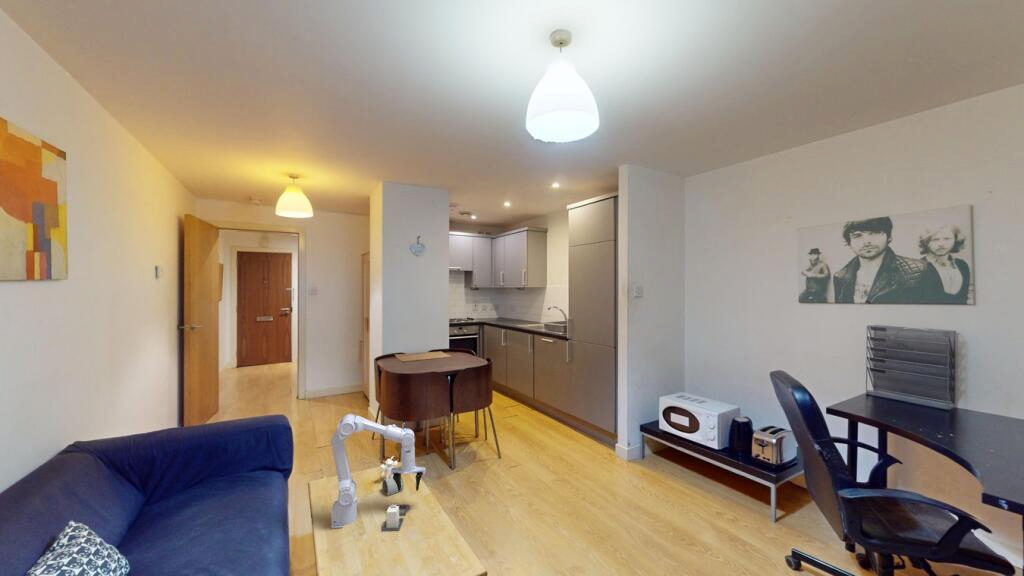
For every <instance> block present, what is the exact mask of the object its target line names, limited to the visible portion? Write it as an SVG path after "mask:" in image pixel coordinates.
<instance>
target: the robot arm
mask: <svg viewBox="0 0 1024 576" xmlns="http://www.w3.org/2000/svg"><path fill="white" fill-rule="evenodd" d="M362 431H368V432H372V433H375V434H380V435H382V436H383V439H385V440H388V441H391V442H395V443H399V444H400V445H401V449H400V461H401V463H400V464H401V465H400V466H397V467H396V468H392V469H391V475H393V479H394V481H395V482H396V484H397V487H398V491H400V490H401V477H402V475H404V476H408V475H409V474H416V475H415V483H416V484H415V491H416V492H417V491H419V489H420V482H421V479H422V477H423V475H425V474H426V467H423V466H416V457H415V456H416V454H415V453H416V451H415V450H416V447H415V442H416V437H415V433H414V431H413V430H412V429H410V428H405V427H404V428H401V427H398V426H397V425H396V424H394V423H393V424H388V425H382V424H380V423H377V422H375V421H373V420H370V419H367V418H364V417H362V416H360V415H355V414H353V413H348V414H346V415H344V416H343V417H342V419H340V421H339V422H338V424H337V427H336V429H335V430H334V432H333V435H332V437H331V439H330V445H331V450H332V455H333V460H334V464H335V465H334V466H335V470H336V476H337V481H338V487H337V488H338V496H337V500H335V501H333V503H332V506H331V510H330V511H331V517H330V518H331V526H330V529H341V528H344V527H345V526H347V525H351V524H353V523H355V522H356V521H357V519H358V502H357V501H358V498H357V496H356V494H355V493H356V490H357V486H358V485H357V483H356V482H355V480H354V478H353V476H352V474H351V468H350V464H349V459H348V453H347V449H346V445H345V444H346V443H345V441H346V440H347V438H349V437H351V436H352V435H354V433H356V434H358V433H360V432H362ZM400 492H401V491H400Z"/></svg>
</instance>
